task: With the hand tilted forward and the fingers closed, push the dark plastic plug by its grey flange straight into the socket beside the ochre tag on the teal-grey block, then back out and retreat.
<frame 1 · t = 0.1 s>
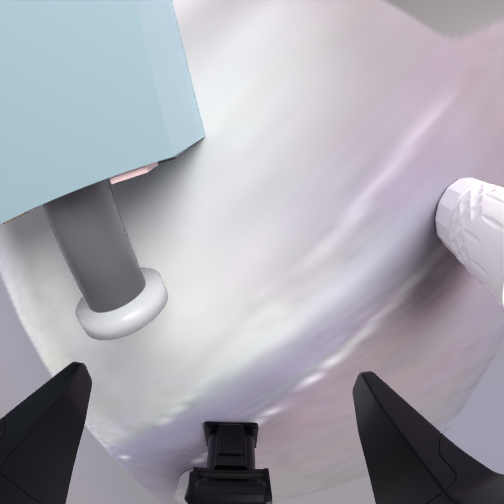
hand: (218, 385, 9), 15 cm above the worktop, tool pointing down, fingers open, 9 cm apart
socket block: (93, 89, 17), on the worktop
plug: (79, 203, 15), point 6 cm above the worktop, slide at 0.0 cm
ramekin: (209, 476, 42), on the worktop
white cup: (461, 212, 22), on the worktop
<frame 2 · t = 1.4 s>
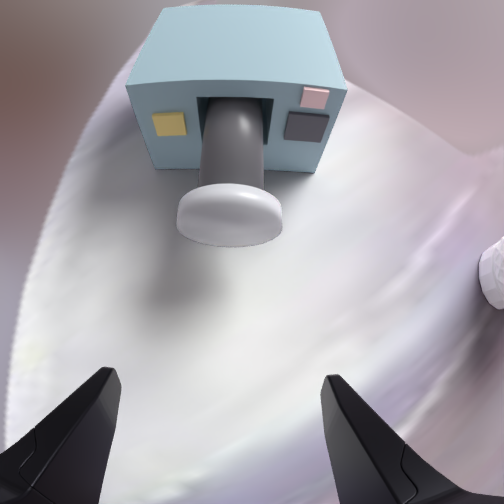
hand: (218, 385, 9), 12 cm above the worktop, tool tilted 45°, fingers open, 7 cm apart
socket block: (236, 119, 28), on the worktop
plug: (233, 133, 20), point 6 cm above the worktop, slide at 0.0 cm
white cup: (496, 278, 24), on the worktop
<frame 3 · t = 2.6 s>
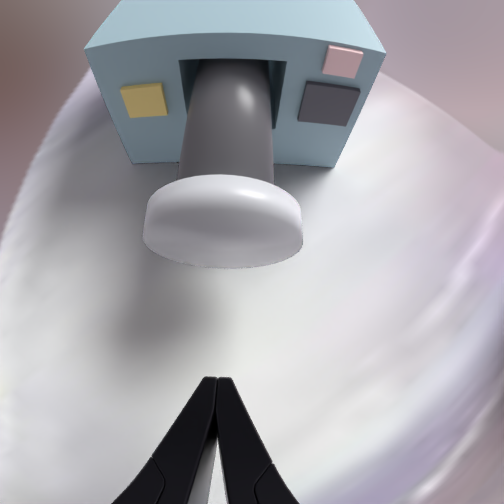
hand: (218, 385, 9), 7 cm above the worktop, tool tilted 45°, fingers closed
socket block: (235, 102, 22), on the worktop
plug: (229, 110, 14), point 6 cm above the worktop, slide at 0.0 cm
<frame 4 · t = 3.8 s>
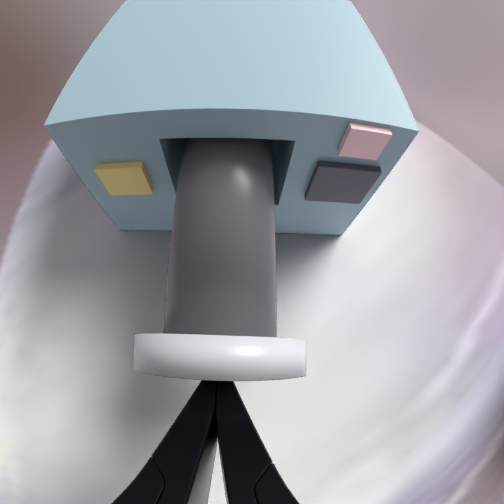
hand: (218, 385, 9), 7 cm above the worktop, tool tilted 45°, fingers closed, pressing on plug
socket block: (232, 152, 21), on the worktop
plug: (225, 193, 13), point 6 cm above the worktop, slide at 0.2 cm, touching gripper
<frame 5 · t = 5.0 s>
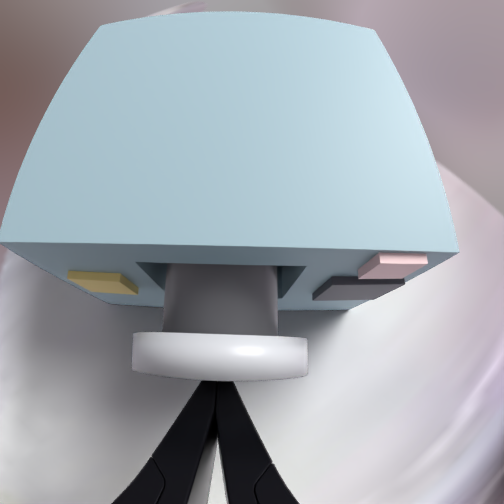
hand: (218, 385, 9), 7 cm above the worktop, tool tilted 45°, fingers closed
socket block: (230, 210, 19), on the worktop
plug: (225, 189, 12), point 6 cm above the worktop, slide at 5.0 cm
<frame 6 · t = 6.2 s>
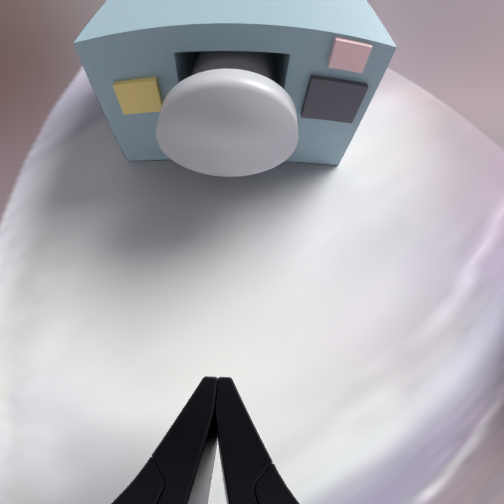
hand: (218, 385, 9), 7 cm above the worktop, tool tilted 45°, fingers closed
socket block: (235, 96, 21), on the worktop
plug: (234, 48, 14), point 6 cm above the worktop, slide at 5.0 cm
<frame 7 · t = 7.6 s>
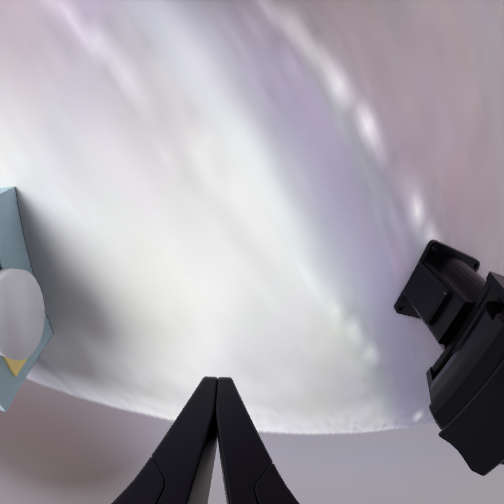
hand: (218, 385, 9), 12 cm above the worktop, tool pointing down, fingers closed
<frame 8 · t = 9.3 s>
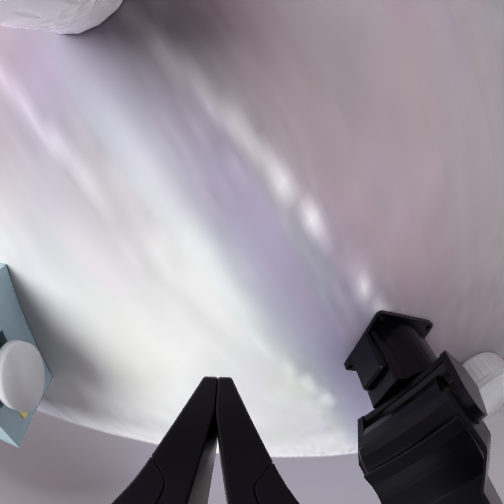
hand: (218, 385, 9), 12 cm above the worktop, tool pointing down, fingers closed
ramekin: (466, 376, 29), on the worktop
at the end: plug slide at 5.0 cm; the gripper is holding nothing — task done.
